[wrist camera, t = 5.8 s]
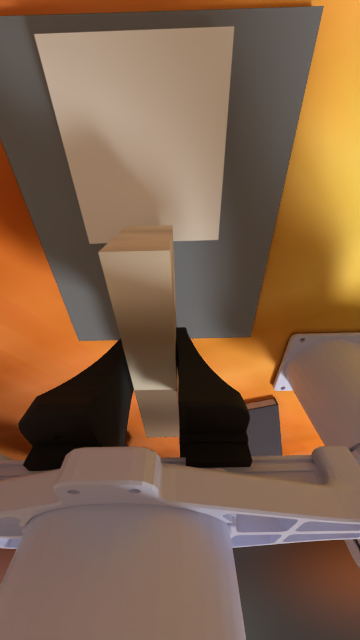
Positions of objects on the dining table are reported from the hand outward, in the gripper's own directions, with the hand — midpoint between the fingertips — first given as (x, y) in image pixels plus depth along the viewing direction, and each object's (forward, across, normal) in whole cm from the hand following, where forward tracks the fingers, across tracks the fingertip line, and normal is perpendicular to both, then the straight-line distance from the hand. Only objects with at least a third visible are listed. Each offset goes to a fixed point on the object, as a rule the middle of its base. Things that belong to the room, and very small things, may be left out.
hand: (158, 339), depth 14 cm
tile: (+3, 0, -6) cm, 7 cm away
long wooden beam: (+1, 0, 0) cm, 1 cm away
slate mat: (+4, 0, -6) cm, 7 cm away
